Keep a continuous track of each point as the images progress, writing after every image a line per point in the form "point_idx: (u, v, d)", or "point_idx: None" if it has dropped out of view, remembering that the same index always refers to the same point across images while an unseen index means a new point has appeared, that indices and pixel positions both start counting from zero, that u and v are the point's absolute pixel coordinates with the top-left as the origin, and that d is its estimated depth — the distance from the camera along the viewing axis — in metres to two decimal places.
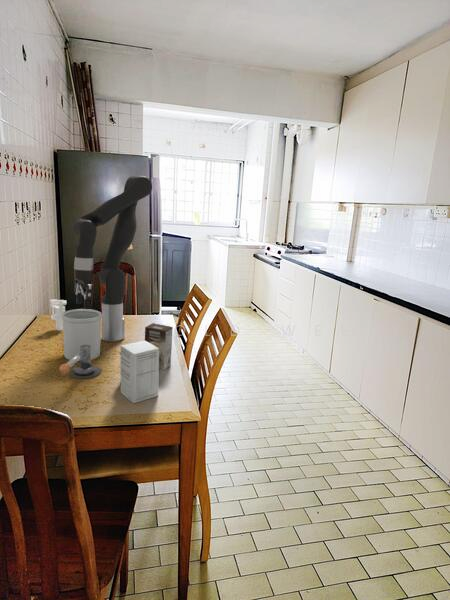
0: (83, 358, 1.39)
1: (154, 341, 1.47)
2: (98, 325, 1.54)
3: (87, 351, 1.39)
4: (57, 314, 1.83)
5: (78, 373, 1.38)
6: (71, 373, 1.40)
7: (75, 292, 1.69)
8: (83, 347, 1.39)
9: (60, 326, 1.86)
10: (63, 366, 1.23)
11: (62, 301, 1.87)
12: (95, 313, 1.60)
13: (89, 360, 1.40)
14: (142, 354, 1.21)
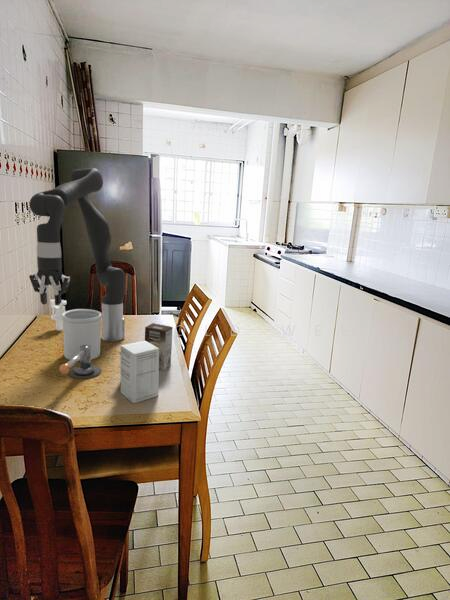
0: (83, 358, 1.39)
1: (154, 341, 1.47)
2: (98, 325, 1.54)
3: (87, 351, 1.39)
4: (57, 314, 1.83)
5: (78, 373, 1.38)
6: (71, 373, 1.40)
7: None
8: (83, 347, 1.39)
9: (60, 326, 1.86)
10: (63, 366, 1.23)
11: (62, 301, 1.87)
12: (95, 313, 1.60)
13: (89, 360, 1.40)
14: (142, 354, 1.21)
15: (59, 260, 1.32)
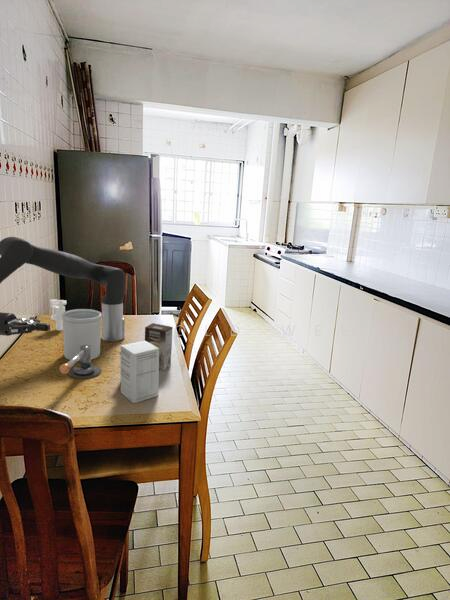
0: (83, 358, 1.39)
1: (154, 341, 1.47)
2: (98, 325, 1.54)
3: (87, 351, 1.39)
4: (57, 314, 1.83)
5: (78, 373, 1.38)
6: (71, 373, 1.40)
7: (30, 325, 1.26)
8: (83, 347, 1.39)
9: (60, 326, 1.86)
10: (63, 366, 1.23)
11: (62, 301, 1.87)
12: (95, 313, 1.60)
13: (89, 360, 1.40)
14: (142, 354, 1.21)
15: None
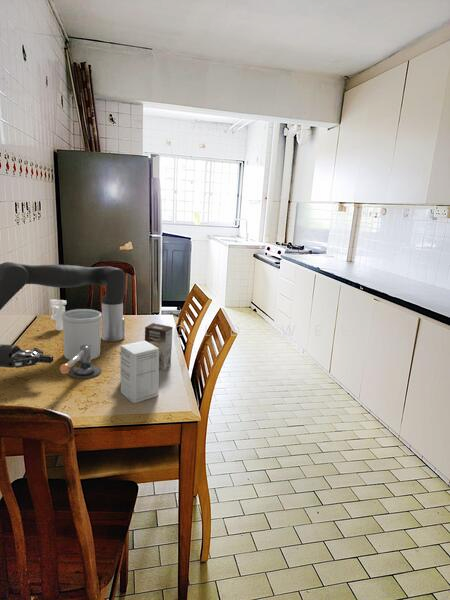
0: (83, 358, 1.39)
1: (154, 341, 1.47)
2: (98, 325, 1.54)
3: (87, 351, 1.39)
4: (57, 314, 1.83)
5: (78, 373, 1.38)
6: (71, 373, 1.40)
7: None
8: (83, 347, 1.39)
9: (60, 326, 1.86)
10: (63, 366, 1.23)
11: (62, 301, 1.87)
12: (95, 313, 1.60)
13: (89, 360, 1.40)
14: (142, 354, 1.21)
15: None
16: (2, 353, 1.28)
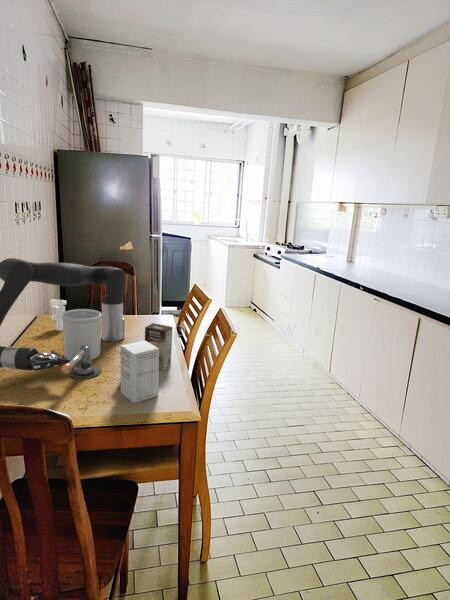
0: (83, 358, 1.39)
1: (154, 341, 1.47)
2: (98, 325, 1.54)
3: (87, 351, 1.39)
4: (57, 314, 1.83)
5: (78, 373, 1.38)
6: (71, 373, 1.40)
7: (52, 360, 1.28)
8: (83, 347, 1.39)
9: (60, 326, 1.86)
10: (64, 366, 1.23)
11: (62, 301, 1.87)
12: (95, 313, 1.60)
13: (89, 360, 1.40)
14: (142, 354, 1.21)
15: (17, 363, 1.27)
16: (20, 356, 1.27)
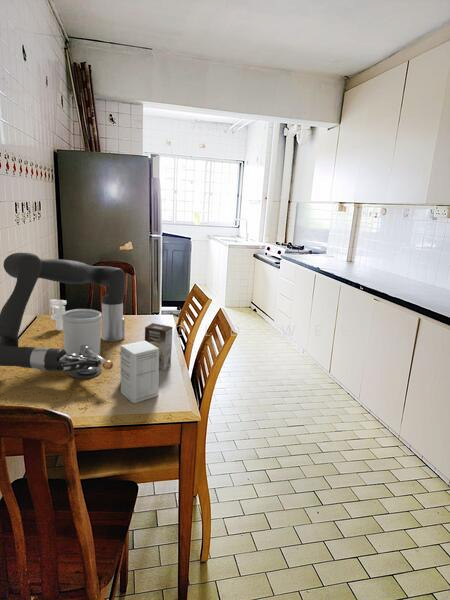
0: None
1: (154, 341, 1.47)
2: (98, 325, 1.54)
3: (90, 350, 1.40)
4: (57, 314, 1.83)
5: (89, 373, 1.38)
6: (71, 373, 1.40)
7: None
8: (85, 347, 1.39)
9: (60, 326, 1.86)
10: (109, 362, 1.28)
11: (62, 301, 1.87)
12: (95, 313, 1.60)
13: None
14: (142, 354, 1.21)
15: (47, 364, 1.27)
16: (50, 357, 1.27)
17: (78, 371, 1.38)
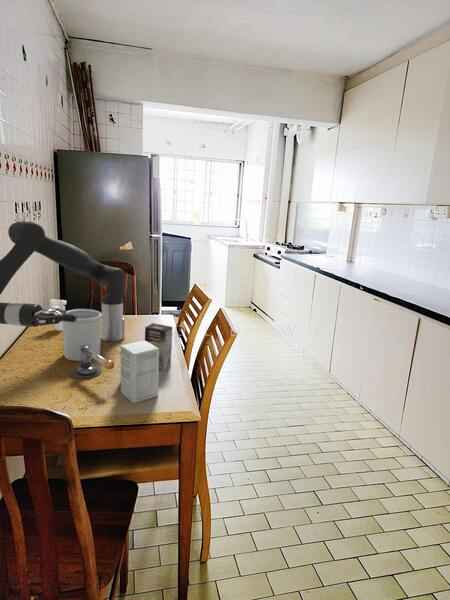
0: (87, 358, 1.40)
1: (154, 341, 1.47)
2: (98, 325, 1.54)
3: (90, 350, 1.40)
4: None
5: (89, 373, 1.38)
6: (71, 373, 1.40)
7: None
8: (85, 347, 1.39)
9: (60, 326, 1.86)
10: (110, 362, 1.28)
11: (62, 301, 1.87)
12: (95, 313, 1.60)
13: (90, 359, 1.42)
14: (142, 354, 1.21)
15: (22, 319, 1.24)
16: (25, 311, 1.24)
17: (78, 371, 1.38)
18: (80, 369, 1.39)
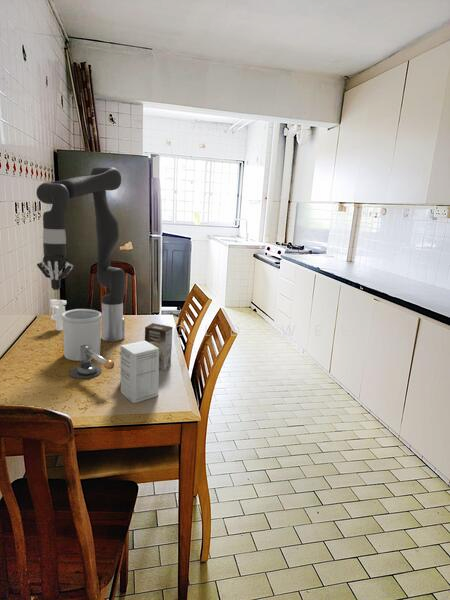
0: (87, 358, 1.40)
1: (154, 341, 1.47)
2: (98, 325, 1.54)
3: (90, 350, 1.40)
4: (57, 314, 1.83)
5: (89, 373, 1.38)
6: (71, 373, 1.40)
7: None
8: (85, 347, 1.39)
9: (60, 326, 1.86)
10: (110, 362, 1.28)
11: (62, 301, 1.87)
12: (95, 313, 1.60)
13: (90, 359, 1.42)
14: (142, 354, 1.21)
15: (64, 246, 1.38)
16: None
17: (78, 371, 1.38)
18: (80, 369, 1.39)
